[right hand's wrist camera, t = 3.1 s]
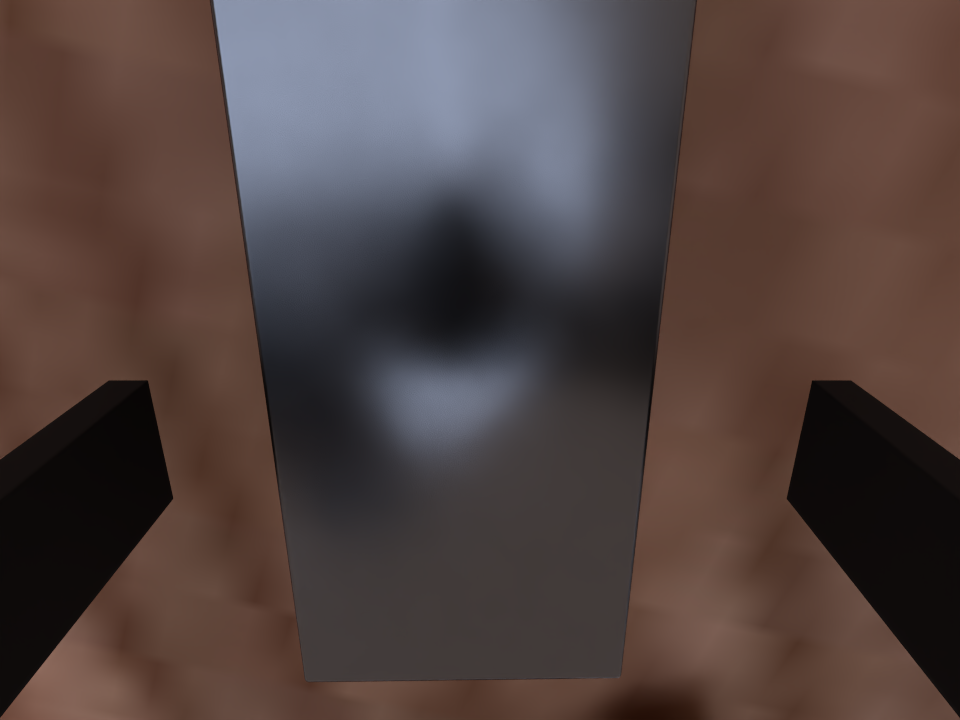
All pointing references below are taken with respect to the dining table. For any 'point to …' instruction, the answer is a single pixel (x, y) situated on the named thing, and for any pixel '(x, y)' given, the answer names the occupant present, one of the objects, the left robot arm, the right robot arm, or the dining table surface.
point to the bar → (457, 315)
